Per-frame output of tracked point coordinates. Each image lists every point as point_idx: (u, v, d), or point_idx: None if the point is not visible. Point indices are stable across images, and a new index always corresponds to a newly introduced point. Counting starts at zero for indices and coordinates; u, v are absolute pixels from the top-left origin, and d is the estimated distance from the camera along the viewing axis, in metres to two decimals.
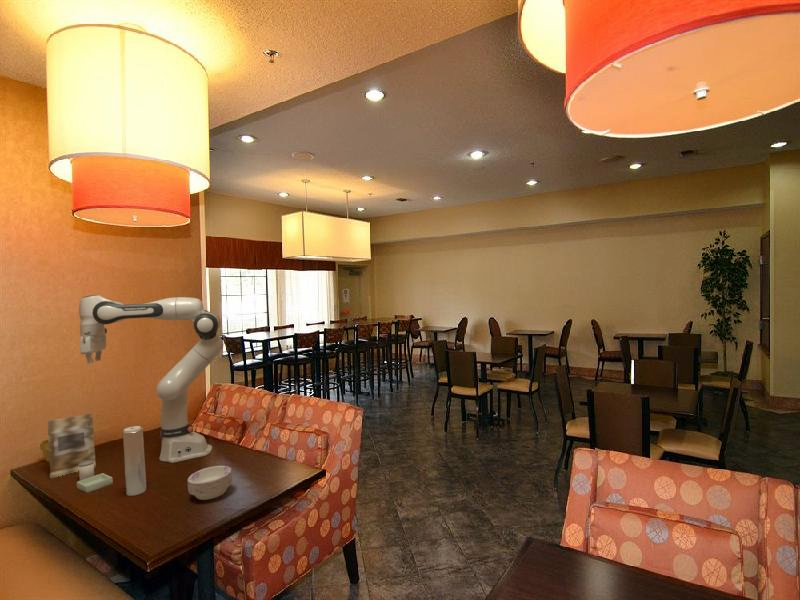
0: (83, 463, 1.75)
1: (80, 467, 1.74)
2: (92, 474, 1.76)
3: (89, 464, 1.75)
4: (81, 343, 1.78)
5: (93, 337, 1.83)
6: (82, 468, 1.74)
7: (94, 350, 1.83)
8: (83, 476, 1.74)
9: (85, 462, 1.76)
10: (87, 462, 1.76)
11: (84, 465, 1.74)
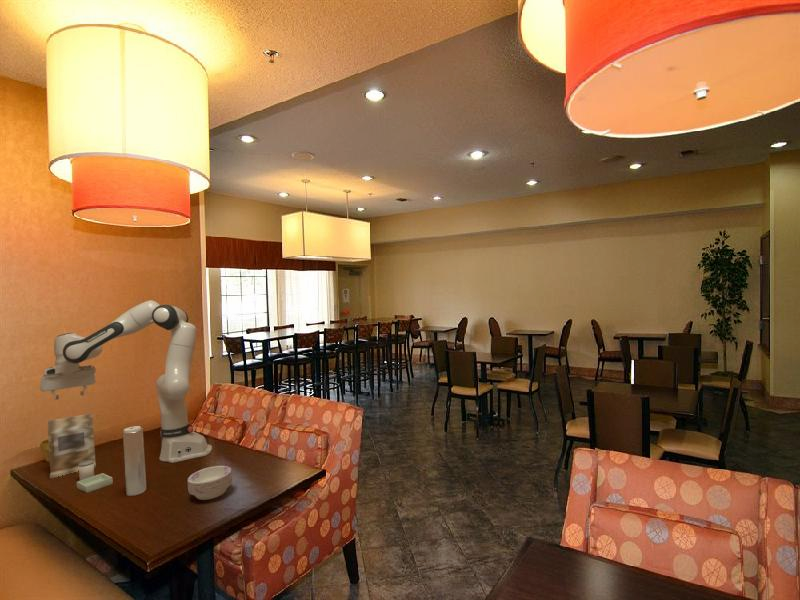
0: (83, 463, 1.75)
1: (80, 467, 1.74)
2: (92, 474, 1.76)
3: (89, 464, 1.75)
4: (93, 374, 2.00)
5: None
6: (82, 468, 1.74)
7: None
8: (83, 476, 1.74)
9: (85, 462, 1.76)
10: (87, 462, 1.76)
11: (84, 465, 1.74)
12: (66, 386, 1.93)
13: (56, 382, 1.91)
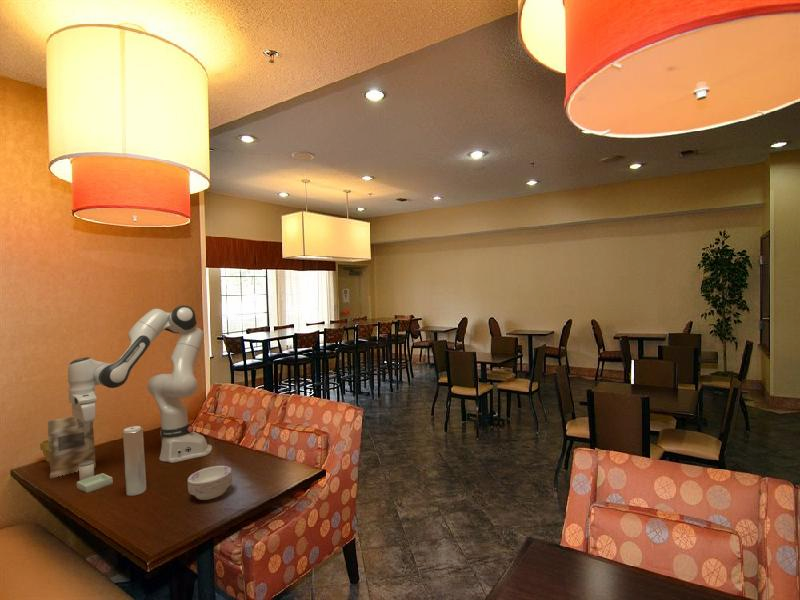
0: (83, 463, 1.75)
1: (80, 467, 1.74)
2: (92, 474, 1.76)
3: (89, 464, 1.75)
4: None
5: None
6: (82, 468, 1.74)
7: (74, 415, 1.78)
8: (83, 476, 1.74)
9: (85, 462, 1.76)
10: (87, 462, 1.76)
11: (84, 465, 1.74)
12: None
13: None
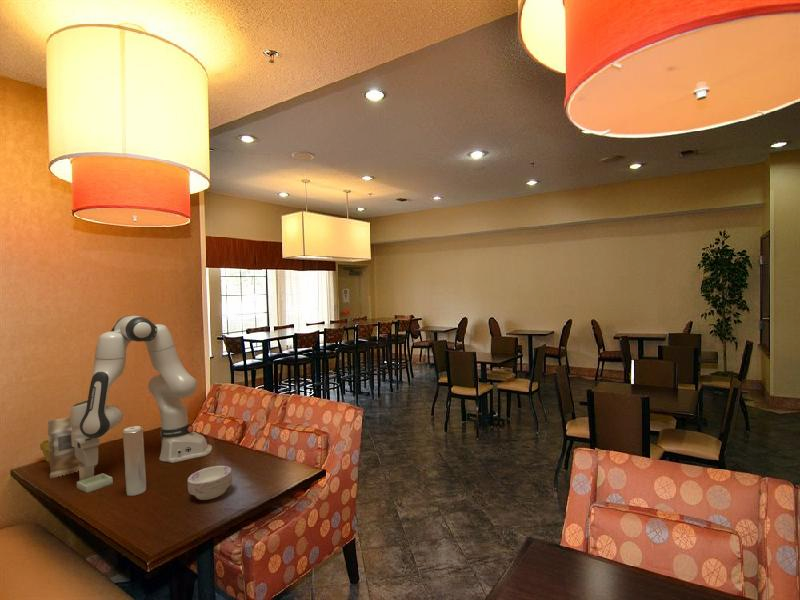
0: None
1: (80, 467, 1.74)
2: (92, 474, 1.76)
3: None
4: None
5: None
6: (82, 468, 1.74)
7: (77, 458, 1.78)
8: (83, 476, 1.74)
9: None
10: None
11: (84, 465, 1.74)
12: None
13: None
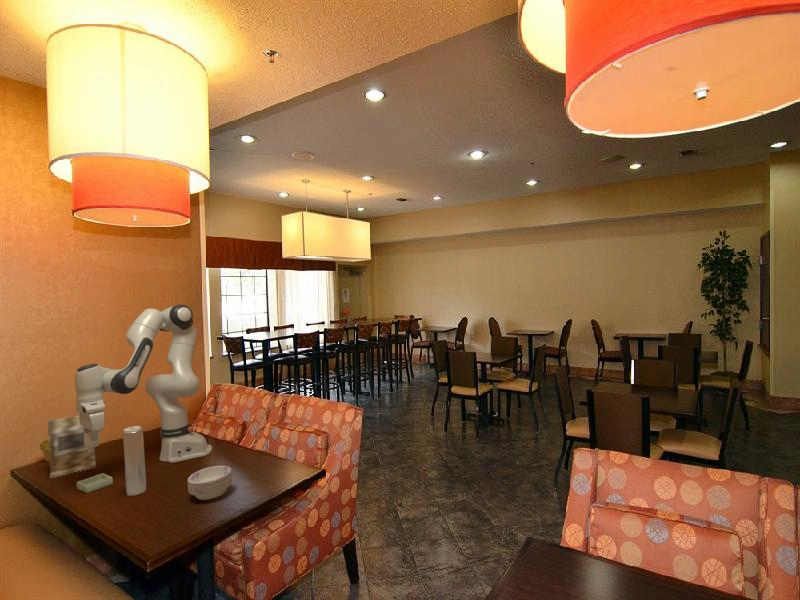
0: None
1: (85, 433, 1.66)
2: (97, 441, 1.69)
3: None
4: None
5: None
6: (87, 434, 1.66)
7: (82, 424, 1.70)
8: (88, 443, 1.66)
9: None
10: None
11: (89, 431, 1.66)
12: None
13: None
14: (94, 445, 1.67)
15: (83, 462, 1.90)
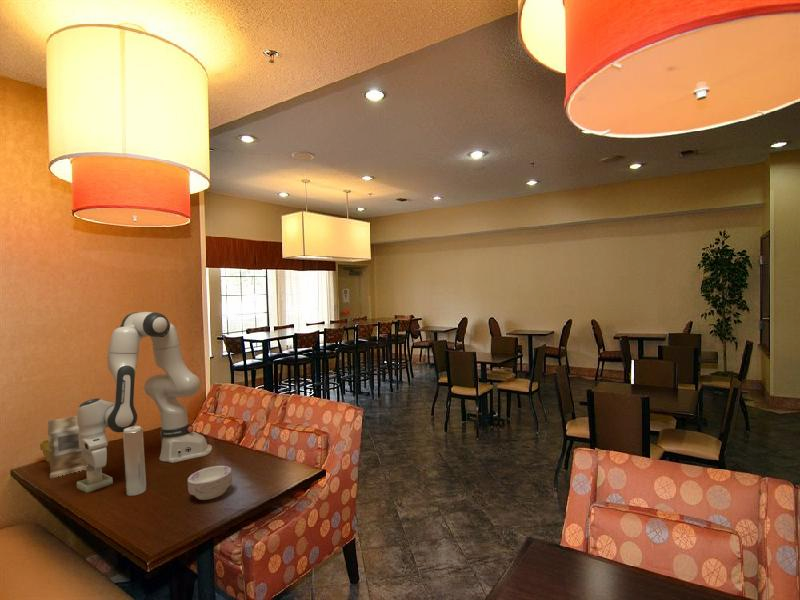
0: (91, 467, 1.67)
1: (88, 472, 1.66)
2: (100, 479, 1.69)
3: None
4: None
5: None
6: (90, 473, 1.66)
7: (85, 459, 1.70)
8: (91, 481, 1.66)
9: None
10: None
11: (92, 470, 1.66)
12: None
13: None
14: None
15: (83, 462, 1.90)
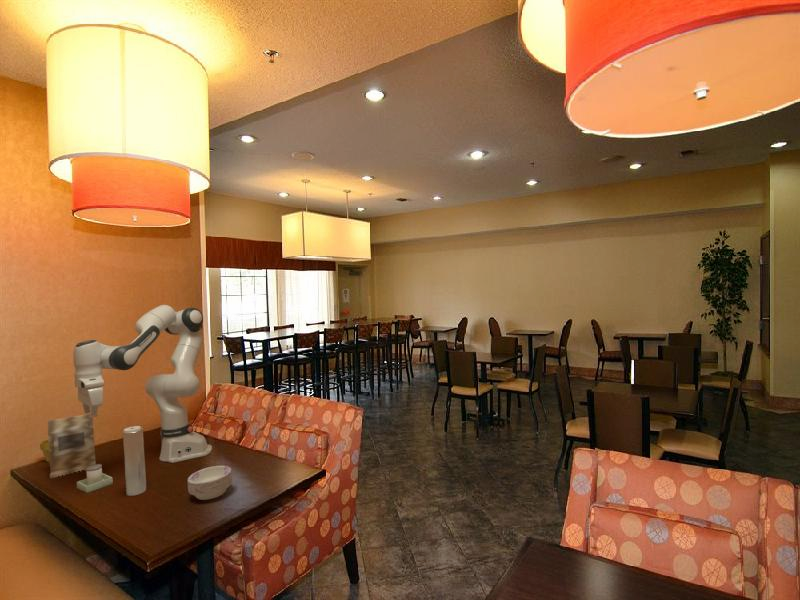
0: (91, 467, 1.67)
1: (88, 472, 1.66)
2: (100, 479, 1.69)
3: (97, 469, 1.68)
4: None
5: None
6: (90, 473, 1.66)
7: (81, 400, 1.70)
8: (91, 481, 1.66)
9: (93, 466, 1.68)
10: (95, 466, 1.68)
11: (92, 470, 1.66)
12: None
13: None
14: None
15: (83, 462, 1.90)
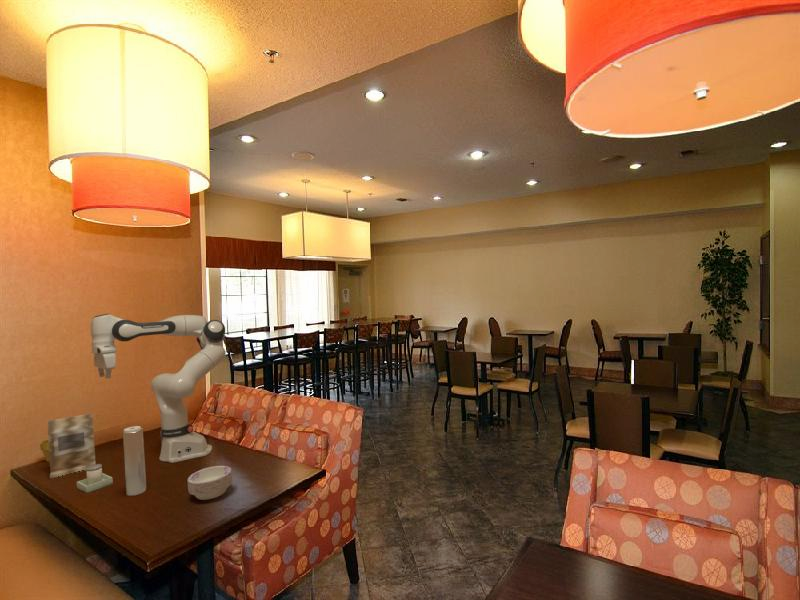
0: (91, 467, 1.67)
1: (88, 472, 1.66)
2: (100, 479, 1.69)
3: (97, 469, 1.68)
4: None
5: (96, 353, 1.99)
6: (90, 473, 1.66)
7: (96, 365, 1.99)
8: (91, 481, 1.66)
9: (93, 466, 1.68)
10: (95, 466, 1.68)
11: (92, 470, 1.66)
12: None
13: None
14: None
15: (83, 462, 1.90)
